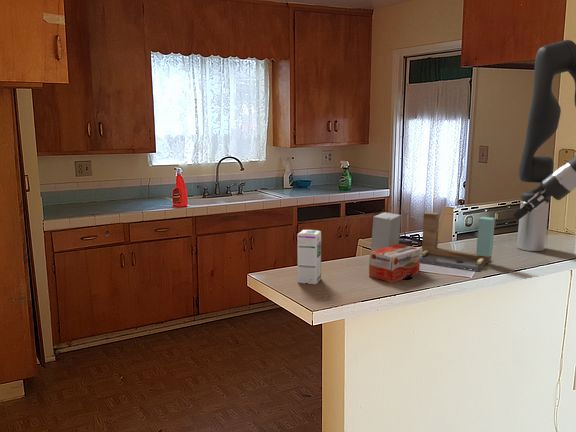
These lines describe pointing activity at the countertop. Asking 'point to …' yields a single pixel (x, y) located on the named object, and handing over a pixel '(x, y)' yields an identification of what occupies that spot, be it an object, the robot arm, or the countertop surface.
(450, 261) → the flange plate
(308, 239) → the syrup box
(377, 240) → the skincare box
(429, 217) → the wooden l-shaped stand
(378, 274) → the medicine box
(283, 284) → the countertop surface
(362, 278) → the countertop surface
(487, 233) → the block
